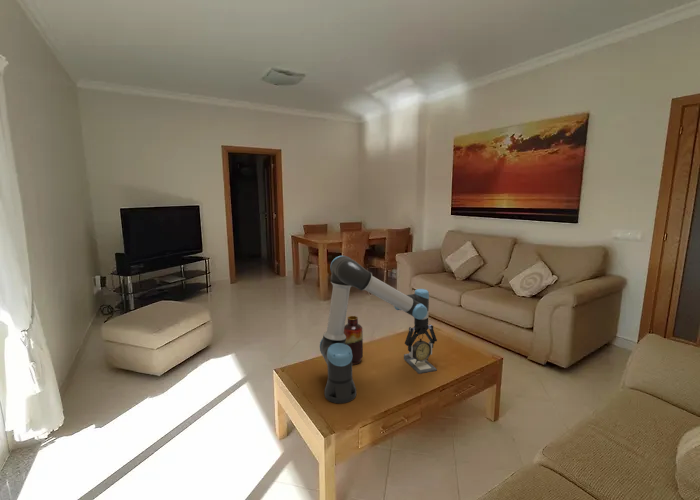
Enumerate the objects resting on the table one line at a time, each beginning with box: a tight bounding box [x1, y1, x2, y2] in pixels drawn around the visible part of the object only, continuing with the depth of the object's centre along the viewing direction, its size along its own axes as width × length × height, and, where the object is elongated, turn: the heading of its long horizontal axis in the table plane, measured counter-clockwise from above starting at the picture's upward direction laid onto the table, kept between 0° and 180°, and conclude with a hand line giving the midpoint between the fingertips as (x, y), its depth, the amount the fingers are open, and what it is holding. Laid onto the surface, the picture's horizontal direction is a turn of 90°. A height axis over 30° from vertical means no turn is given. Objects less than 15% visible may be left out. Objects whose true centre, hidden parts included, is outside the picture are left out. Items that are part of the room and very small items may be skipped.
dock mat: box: [403, 353, 438, 375], centre depth 189 cm, size 11×18×3 cm, turn 17°
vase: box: [344, 315, 364, 366], centre depth 192 cm, size 11×11×26 cm
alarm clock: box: [412, 334, 431, 364], centre depth 186 cm, size 11×5×16 cm, turn 117°
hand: (420, 355), depth 187 cm, fingers closed on alarm clock, 11 cm apart
